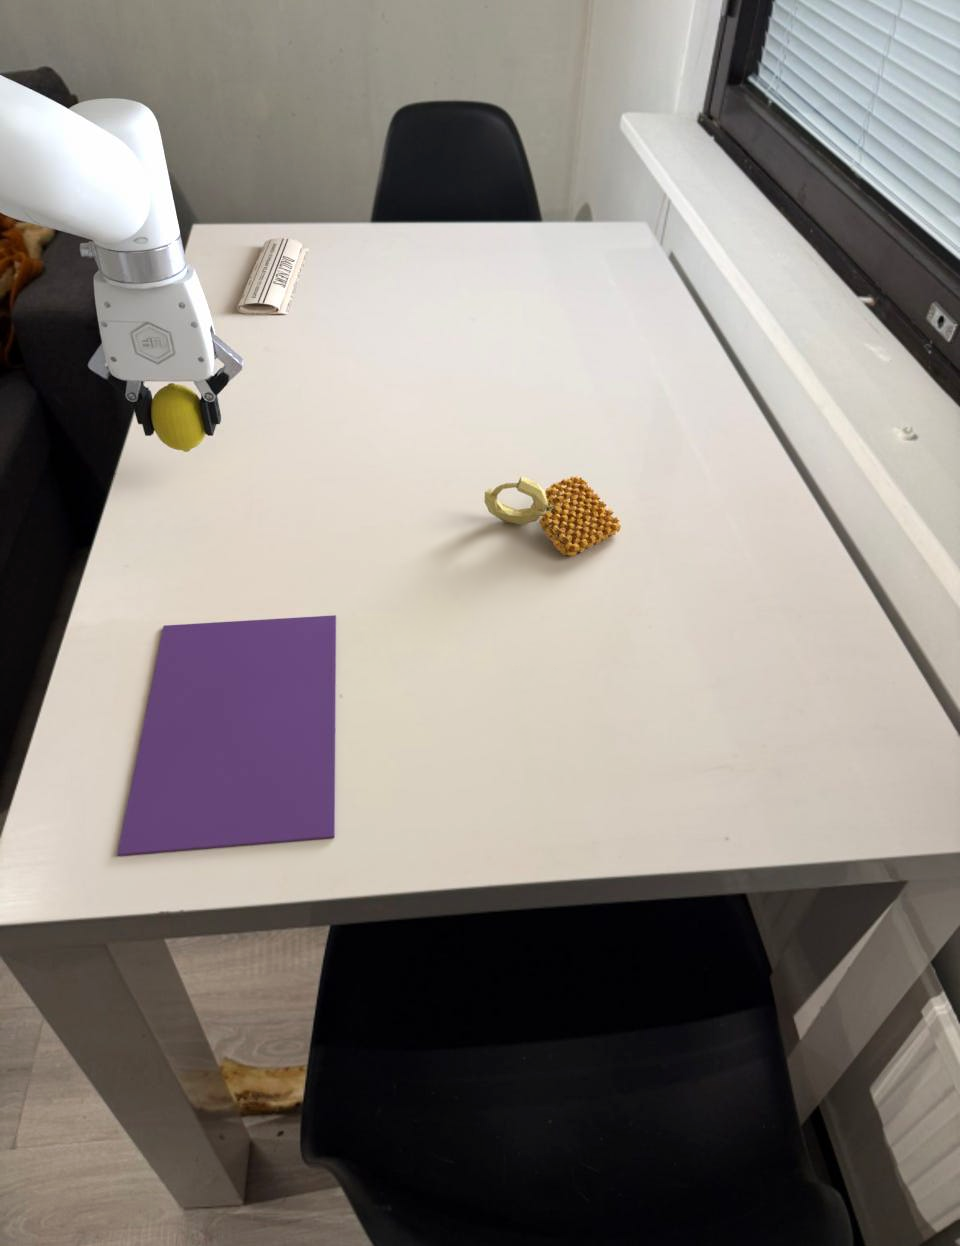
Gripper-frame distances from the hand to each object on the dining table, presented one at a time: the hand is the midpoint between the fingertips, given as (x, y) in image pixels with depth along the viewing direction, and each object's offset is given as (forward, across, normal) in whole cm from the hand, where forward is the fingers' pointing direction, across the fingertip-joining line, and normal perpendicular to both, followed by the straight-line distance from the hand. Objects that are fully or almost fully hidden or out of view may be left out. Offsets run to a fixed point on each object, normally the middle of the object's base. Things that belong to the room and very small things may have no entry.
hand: (181, 427), depth 92 cm
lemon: (+3, 0, 0) cm, 3 cm away
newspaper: (+6, +3, +53) cm, 54 cm away
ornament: (+7, +39, -9) cm, 41 cm away
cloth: (+8, +10, -34) cm, 36 cm away
